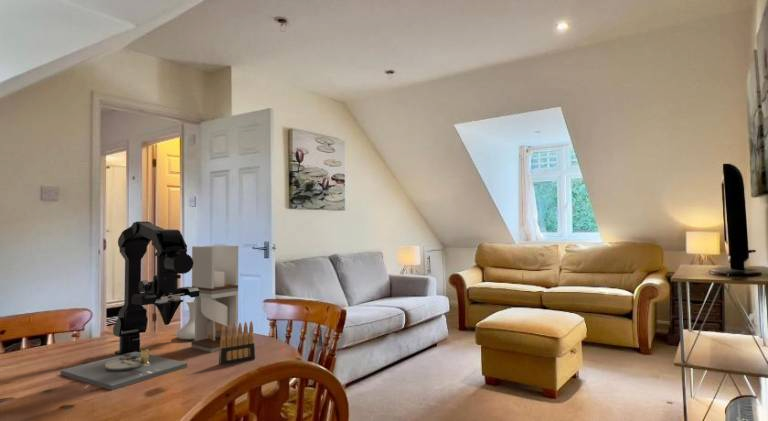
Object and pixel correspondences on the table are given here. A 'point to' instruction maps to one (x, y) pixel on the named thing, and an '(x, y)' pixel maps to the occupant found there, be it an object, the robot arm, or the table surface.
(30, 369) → the table surface
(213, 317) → the display case
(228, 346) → the ammunition clip
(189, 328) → the flower in vase
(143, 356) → the disc crank with handle
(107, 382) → the stand base
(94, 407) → the table surface
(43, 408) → the table surface
